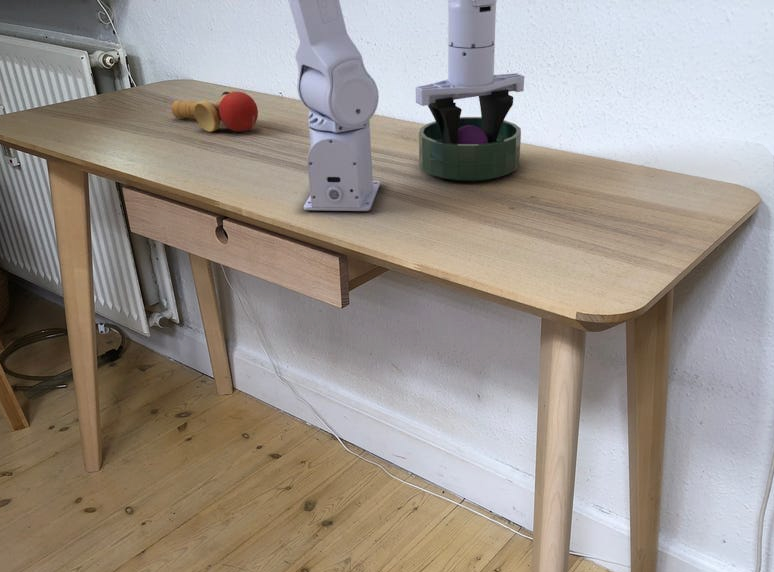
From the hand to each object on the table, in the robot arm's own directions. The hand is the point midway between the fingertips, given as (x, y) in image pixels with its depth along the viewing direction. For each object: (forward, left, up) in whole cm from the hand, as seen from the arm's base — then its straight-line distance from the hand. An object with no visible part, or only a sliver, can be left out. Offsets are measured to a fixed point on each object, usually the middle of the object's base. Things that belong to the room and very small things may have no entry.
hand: (469, 153), depth 101 cm
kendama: (+20, +42, -2) cm, 47 cm away
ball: (0, 0, +1) cm, 1 cm away
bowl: (0, 0, -2) cm, 2 cm away
